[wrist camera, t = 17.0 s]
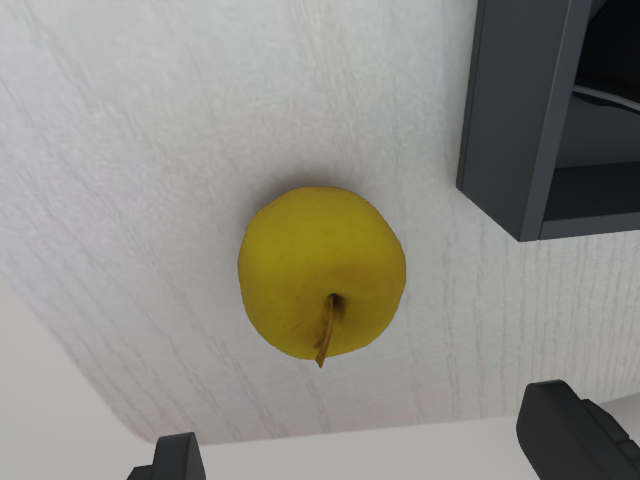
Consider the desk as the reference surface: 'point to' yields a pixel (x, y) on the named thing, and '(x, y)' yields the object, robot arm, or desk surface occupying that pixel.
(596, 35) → the battery charger
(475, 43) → the bin
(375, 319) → the apple
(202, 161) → the desk surface
